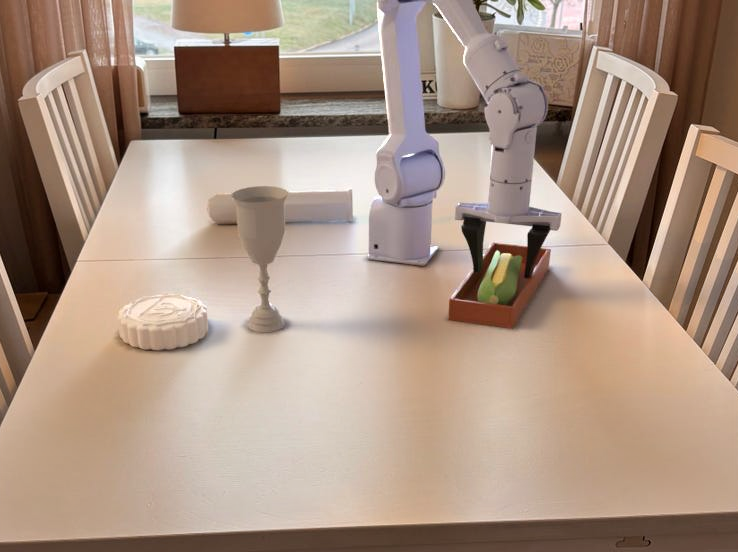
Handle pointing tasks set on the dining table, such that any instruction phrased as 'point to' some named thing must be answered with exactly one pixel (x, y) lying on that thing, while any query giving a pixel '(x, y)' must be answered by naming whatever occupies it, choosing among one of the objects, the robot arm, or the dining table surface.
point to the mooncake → (163, 322)
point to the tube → (292, 206)
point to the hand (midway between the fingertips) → (502, 272)
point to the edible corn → (500, 280)
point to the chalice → (262, 243)
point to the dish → (473, 311)
